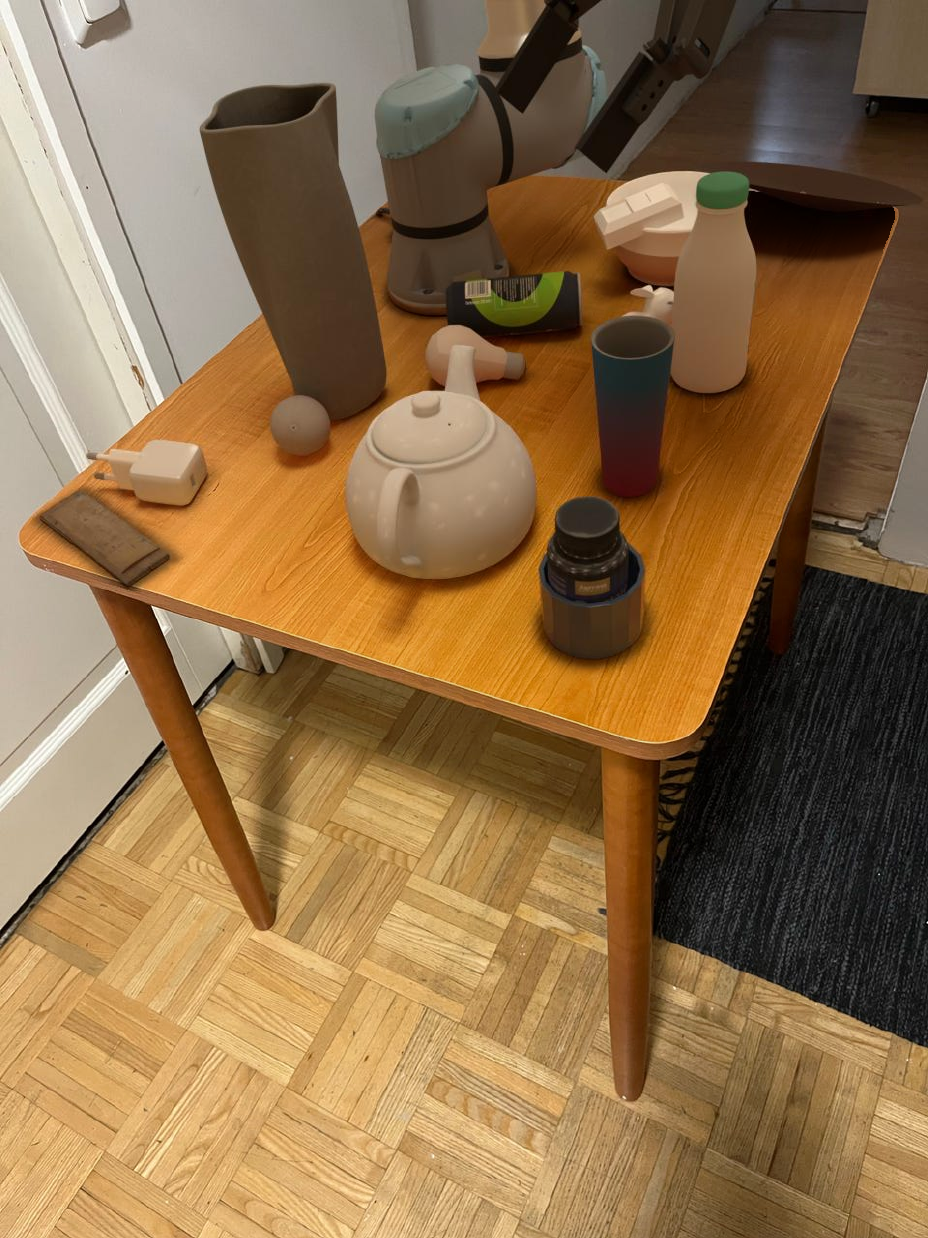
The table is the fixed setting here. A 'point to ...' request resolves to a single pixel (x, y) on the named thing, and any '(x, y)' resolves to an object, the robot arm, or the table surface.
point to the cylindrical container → (594, 616)
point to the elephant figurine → (655, 303)
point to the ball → (300, 425)
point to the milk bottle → (714, 289)
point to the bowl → (659, 247)
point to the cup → (631, 399)
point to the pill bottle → (588, 551)
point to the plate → (816, 186)
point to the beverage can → (516, 304)
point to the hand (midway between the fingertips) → (546, 129)
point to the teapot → (441, 482)
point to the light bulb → (486, 360)
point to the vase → (299, 238)
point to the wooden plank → (104, 537)
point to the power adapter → (157, 471)
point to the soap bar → (638, 215)
